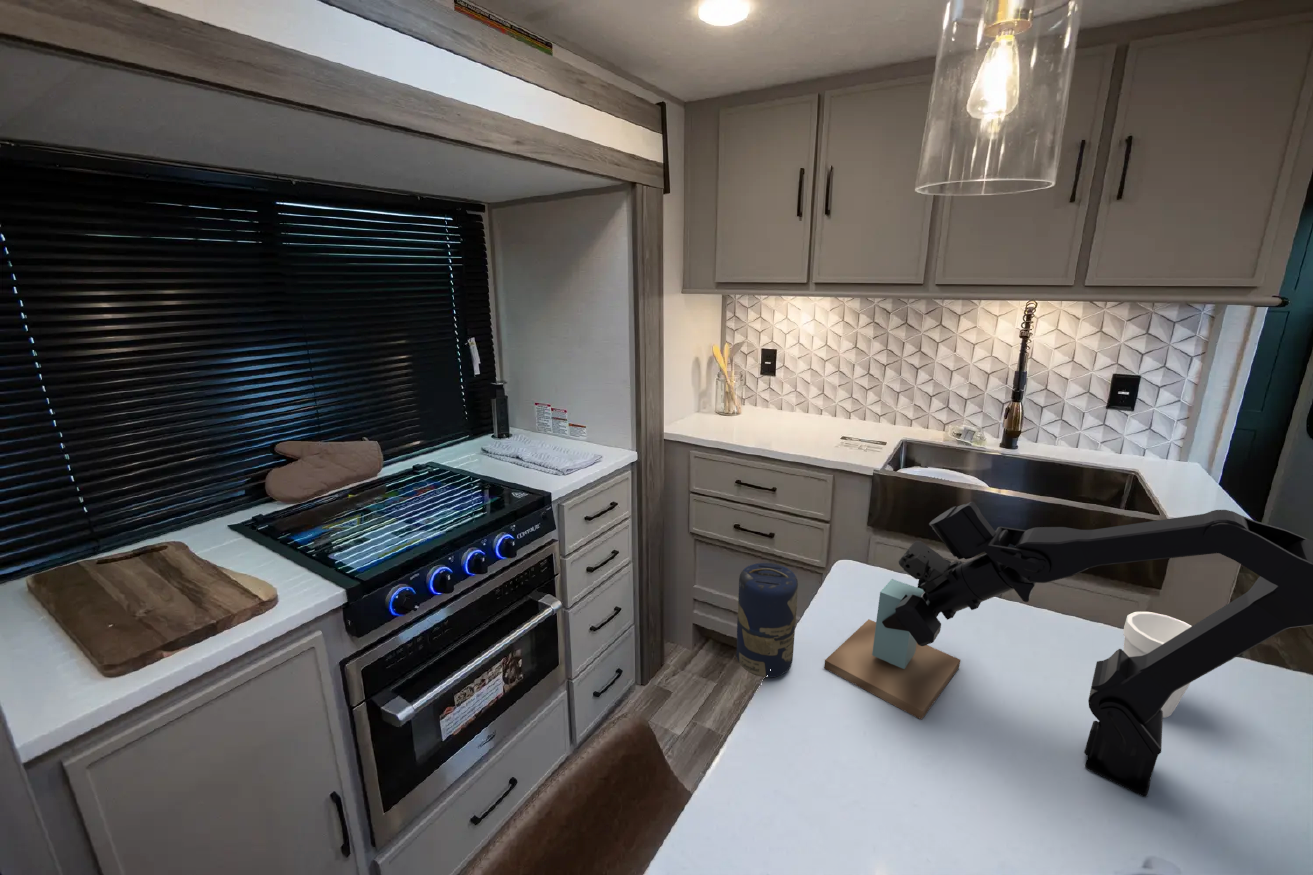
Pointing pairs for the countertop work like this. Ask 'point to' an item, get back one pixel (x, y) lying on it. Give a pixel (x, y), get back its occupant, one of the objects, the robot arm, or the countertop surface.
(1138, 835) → the countertop surface
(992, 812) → the countertop surface
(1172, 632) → the foam cup
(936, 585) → the robot arm
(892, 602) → the tall sage green block
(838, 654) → the stand
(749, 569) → the canister
